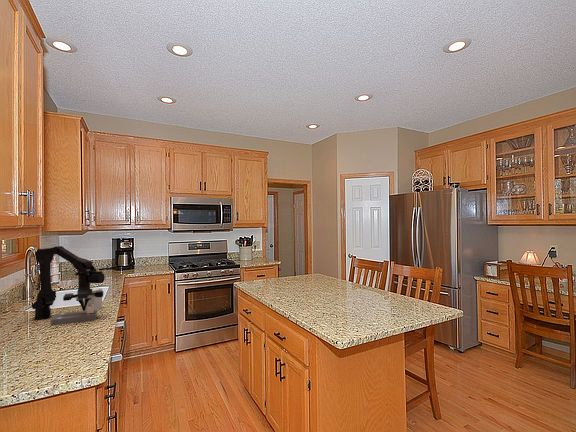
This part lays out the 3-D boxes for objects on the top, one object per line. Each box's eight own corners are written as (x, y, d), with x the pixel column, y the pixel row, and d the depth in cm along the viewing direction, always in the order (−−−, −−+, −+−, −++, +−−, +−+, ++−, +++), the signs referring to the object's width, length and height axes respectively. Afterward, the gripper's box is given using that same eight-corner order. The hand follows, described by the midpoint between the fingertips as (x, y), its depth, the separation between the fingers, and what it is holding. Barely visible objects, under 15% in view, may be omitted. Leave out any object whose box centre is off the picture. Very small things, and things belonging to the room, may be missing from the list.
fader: (86, 313, 174) (87, 305, 174) (87, 311, 178) (87, 303, 178) (93, 312, 175) (93, 304, 175) (93, 310, 179) (94, 302, 180)
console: (50, 325, 163) (51, 319, 163) (55, 319, 174) (55, 314, 174) (95, 320, 173) (95, 314, 173) (96, 314, 183) (96, 309, 183)
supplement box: (102, 308, 197) (102, 288, 198) (94, 311, 190) (94, 290, 190) (91, 307, 198) (92, 287, 198) (83, 310, 191) (83, 290, 191)
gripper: (61, 287, 164) (61, 316, 164) (102, 284, 173) (102, 312, 172) (65, 283, 174) (64, 311, 173) (103, 280, 183) (103, 307, 182)
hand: (83, 310), depth 175 cm, fingers closed
